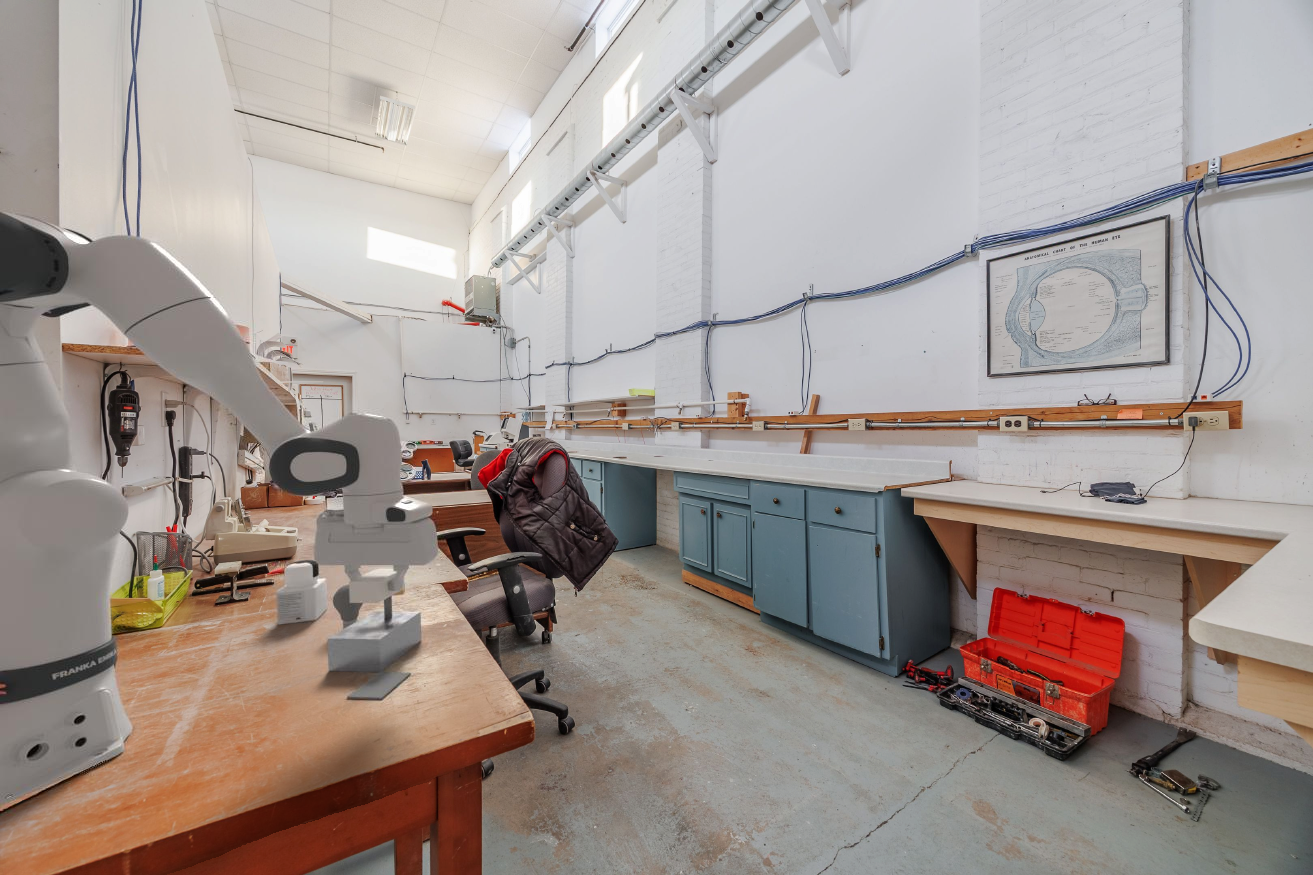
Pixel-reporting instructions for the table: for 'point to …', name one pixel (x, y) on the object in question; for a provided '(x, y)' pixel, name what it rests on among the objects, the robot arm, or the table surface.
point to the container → (301, 593)
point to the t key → (390, 604)
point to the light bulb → (346, 606)
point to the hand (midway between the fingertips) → (377, 590)
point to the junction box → (374, 642)
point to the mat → (379, 685)
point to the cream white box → (372, 586)
